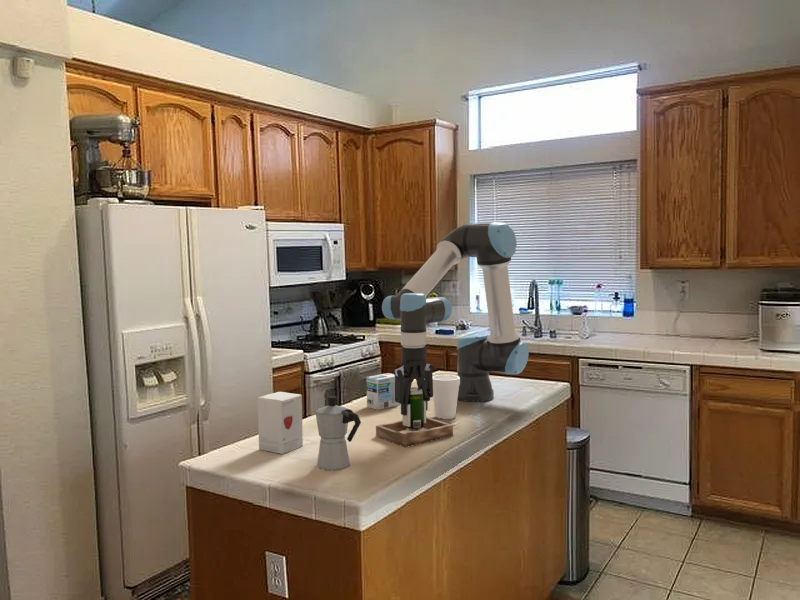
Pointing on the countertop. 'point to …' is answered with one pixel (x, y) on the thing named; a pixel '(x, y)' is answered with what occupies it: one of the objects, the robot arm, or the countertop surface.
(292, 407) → the supplement box
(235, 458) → the countertop surface
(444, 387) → the foam cup
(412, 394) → the beer can
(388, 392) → the light bulb box
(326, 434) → the coffee maker
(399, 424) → the tray
